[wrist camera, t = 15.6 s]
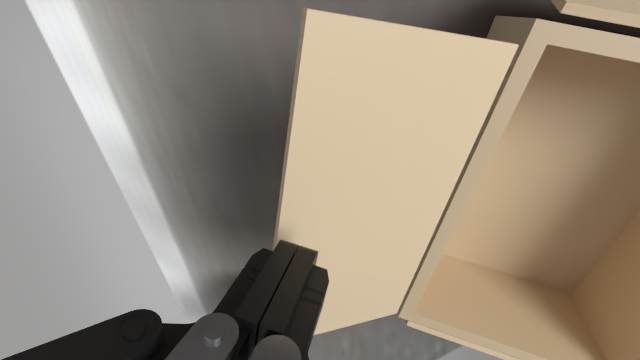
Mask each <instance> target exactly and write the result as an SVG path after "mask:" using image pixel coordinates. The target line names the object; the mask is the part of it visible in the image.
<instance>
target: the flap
mask: <svg viewBox="0 0 640 360" xmlns="http://www.w3.org/2000/svg"><path fill="white" fill-rule="evenodd" d="M518 46H519V45H518V44H514V43H509V42H503V41H497V40H492V39H486V38H480V37H474V36H468V35H462V34H456V33H450V32H444V31H439V30H433V29H427V28H421V27H415V26H409V25H403V24H397V23H392V22H386V21H380V20H374V19H368V18H362V17H356V16H350V15H345V14H339V13H333V12H327V11H321V10H315V9H309V8H303V10H302V18H301V26H300V34H299V42H298V50H297V58H296V67H295V75H294V83H293V91H292V99H291V107H290V115H289V123H288V131H287V139H286V147H285V155H284V163H283V171H282V179H281V187H280V195H279V203H278V211H277V219H276V227H275V235H274V243H273V250H274V249H275V247H276V245H277V244H278V242H279V241H280V240H281V239H282V240H285V241H288V242H291V243H294V244H297V245H299V246H303V247H307V248H310V249H313V250H316V251H318V257H317V262H316V266H319V267H322V268H325V269H327V271H328V277H329V284H328V288H327V292H326V296H325V299H324V303H323V307H322V310H321V313H320V316H319V319H318V322H317V326H316V329H315V332H314V335H316V334H320V333H324V332H328V331H332V330H335V329H339V328H343V327H347V326H351V325H354V324H358V323H362V322H366V321H370V320H373V319H377V318H381V317H385V316H389V315H392V314H396V313H397V312H398V310H399V307H400V305H401V303H402V301H403V299H404V296H405V294H406V292H407V290H408V288H409V285H410V283H411V281H412V279H413V277H414V274H415V272H416V270H417V268H418V266H419V263H420V261H421V259H422V257H423V255H424V253H425V250H426V248H427V246H428V244H429V242H430V239H431V237H432V235H433V233H434V231H435V228H436V226H437V224H438V222H439V220H440V217H441V215H442V213H443V211H444V209H445V206H446V204H447V202H448V200H449V198H450V195H451V193H452V191H453V189H454V187H455V184H456V182H457V180H458V178H459V176H460V173H461V171H462V169H463V167H464V165H465V162H466V160H467V158H468V156H469V154H470V152H471V149H472V147H473V145H474V143H475V141H476V138H477V136H478V134H479V132H480V130H481V127H482V125H483V123H484V121H485V119H486V116H487V114H488V112H489V110H490V108H491V105H492V103H493V101H494V99H495V97H496V94H497V92H498V90H499V88H500V86H501V83H502V81H503V79H504V77H505V75H506V72H507V70H508V68H509V66H510V64H511V61H512V59H513V57H514V55H515V53H516V50H517V48H518Z"/></svg>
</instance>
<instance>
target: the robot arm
mask: <svg viewBox="0 0 640 360" xmlns="http://www.w3.org/2000/svg"><path fill="white" fill-rule="evenodd" d="M317 257H318V251H316V250H313V249H310V248H307V247H303V246H299V245H297V244H294V243H291V242H288V241H285V240H282V239H281V240H280V241H279V242H278V244H277V245H276V247H275V249H274V250H273V251H270V250H267V249H264V248H263V249H261V250H260V251H258V252H257V253H255V254H254V255H252V256H251V258H250V259H249V261H248V262H247V264H246V265H245V268H243V270H242V271H241V273H240V274H239V276H238V277H237V278H236V280H235V281H234V283H233V284H232V286H231V287H230V289H229V290H228V292H227V293H226V295H225V296H224V297H223V299H222V300H221V302H220V303H219V305H218V306H217V308H216V309H215V310H214V312H213V313H212V314H208V315H206V316H204V317H202V318H200V319H199V320H198V321H197V322H195V323H191V324H166V323H165V324H164V323H162V321H161V318H160V316H159V315H157V313H155V312H153V311H151V310H146V309H139V310H134V311H130V312H128V313H125V314H122V315H120V316H117V317H115V318H112V319H109V320H106V321H104V322H101V323H98V324H95V325H93V326H90V327H87V328H85V329H82V330H79V331H77V332H74V333H71V334H69V335H66V336H63V337H61V338H58V339H55V340H53V341H50V342H48V343H45V344H42V345H39V346H37V347H34V348H31V349H29V350H26V351H23V352H21V353H18V354H15V355H13V356H10V357H7V358H5V359H2V360H309V358H308V350H309V347H310V344H311V341H312V338H313V335H314V332H315V329H316V326H317V322H318V319H319V316H320V313H321V310H322V307H323V303H324V299H325V296H326V292H327V288H328V284H329V277H328V271H327V269H325V268H322V267H319V266H316V262H317Z"/></svg>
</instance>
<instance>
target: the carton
mask: <svg viewBox="0 0 640 360" xmlns="http://www.w3.org/2000/svg"><path fill="white" fill-rule="evenodd" d="M551 1H552V3H553V4H554V5H555V7H556V8H557V9H558V11H559V12H560V13H562V14H568V15H573V16H578V17H584V18H589V19H595V20H600V21H605V22H611V23H616V24H621V25H627V26H632V27H638V28H640V0H551ZM486 39H492V40H497V41H503V42H509V43H514V44H518V45H519V46H518V48H517V50H516V53H515V55H514V57H513V59H512V61H511V64H510V66H509V68H508V70H507V72H506V75H505V77H504V79H503V81H502V83H501V86H500V88H499V90H498V92H497V94H496V97H495V99H494V101H493V103H492V105H491V108H490V110H489V112H488V114H487V116H486V119H485V121H484V123H483V125H482V127H481V130H480V132H479V134H478V136H477V138H476V141H475V143H474V145H473V147H472V149H471V152H470V154H469V156H468V158H467V160H466V162H465V165H464V167H463V169H462V171H461V173H460V176H459V178H458V180H457V182H456V184H455V187H454V189H453V191H452V193H451V195H450V198H449V200H448V202H447V204H446V206H445V209H444V211H443V213H442V215H441V217H440V220H439V222H438V224H437V226H436V228H435V231H434V233H433V235H432V237H431V239H430V242H429V244H428V246H427V248H426V250H425V253H424V255H423V257H422V259H421V261H420V263H419V266H418V268H417V270H416V272H415V274H414V277H413V279H412V281H411V283H410V285H409V288H408V290H407V292H406V294H405V296H404V299H403V301H402V303H401V305H400V307H399V314H398V317H400V318H403V319H406V324H407V326H410V327H413V328H415V329H418V330H421V331H424V332H427V333H430V334H433V335H436V336H438V337H441V338H444V339H447V340H450V341H453V342H456V343H459V344H461V345H464V346H467V347H470V348H473V349H476V350H479V351H482V352H484V353H488V354H490V355H493V356H496V357H499V358H502V359H505V360H640V38H637V37H631V36H626V35H621V34H616V33H610V32H605V31H600V30H595V29H589V28H584V27H579V26H574V25H568V24H563V23H558V22H553V21H547V20H542V19H537V18H524V17H510V16H497V15H495V18H494V20H493V23H492V25H491V28H490V30H489V33H488V35H487V38H486Z"/></svg>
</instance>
